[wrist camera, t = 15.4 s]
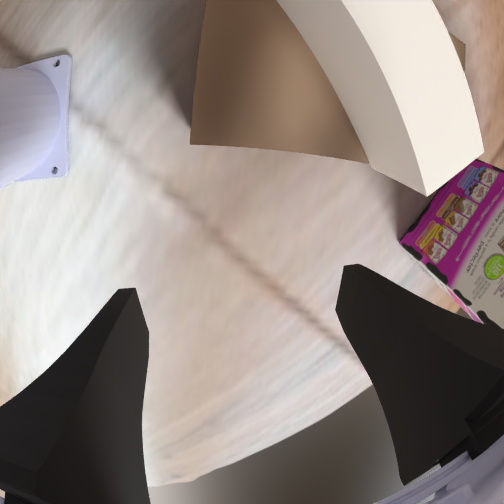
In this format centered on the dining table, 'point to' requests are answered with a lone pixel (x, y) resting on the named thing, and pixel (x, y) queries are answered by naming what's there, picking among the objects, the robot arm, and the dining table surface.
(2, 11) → the dining table surface
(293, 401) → the dining table surface
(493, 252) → the candy bar box
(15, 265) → the dining table surface
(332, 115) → the cubby
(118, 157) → the dining table surface
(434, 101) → the block
